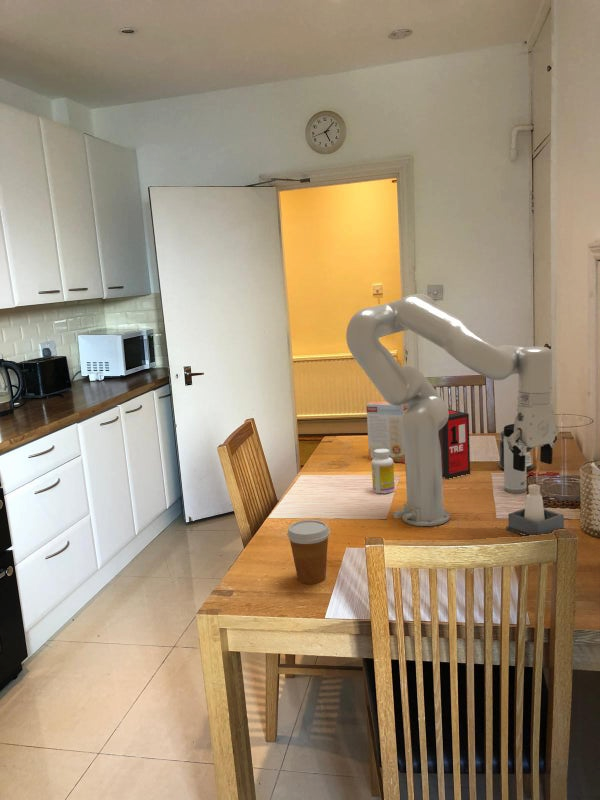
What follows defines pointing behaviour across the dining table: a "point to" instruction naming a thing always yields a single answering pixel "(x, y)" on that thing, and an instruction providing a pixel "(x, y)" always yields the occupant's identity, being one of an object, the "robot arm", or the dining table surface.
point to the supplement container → (528, 454)
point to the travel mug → (512, 478)
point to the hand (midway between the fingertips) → (532, 466)
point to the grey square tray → (535, 523)
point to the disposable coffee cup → (309, 549)
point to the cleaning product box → (455, 445)
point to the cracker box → (386, 429)
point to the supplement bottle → (382, 472)
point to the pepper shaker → (534, 504)
